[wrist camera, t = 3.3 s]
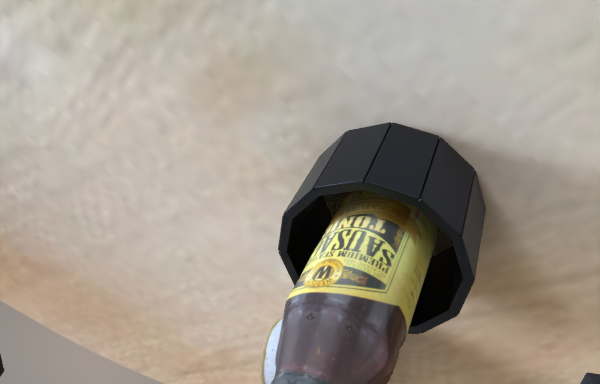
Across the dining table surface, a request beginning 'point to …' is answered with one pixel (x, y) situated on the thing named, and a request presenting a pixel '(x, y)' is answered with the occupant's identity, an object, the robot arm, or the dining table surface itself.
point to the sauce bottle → (356, 294)
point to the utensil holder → (403, 187)
